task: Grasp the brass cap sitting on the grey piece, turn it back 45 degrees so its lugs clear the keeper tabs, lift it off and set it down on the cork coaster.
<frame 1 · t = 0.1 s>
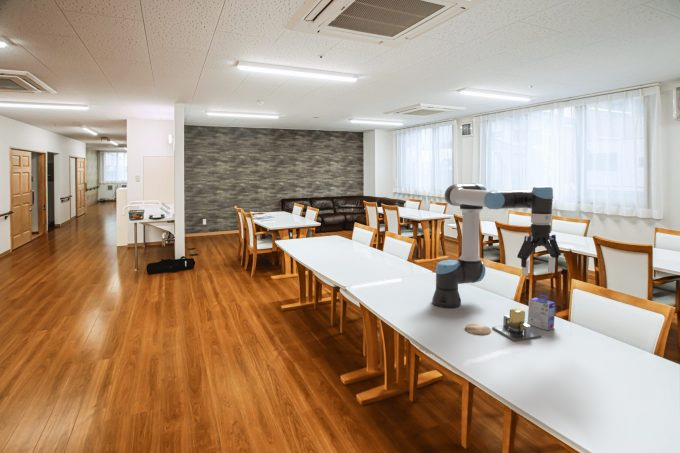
hand: (538, 273, 162), 28 cm above the table, fingers open, 13 cm apart
cap: (516, 326, 169), point 3 cm above the table, touching grey piece
ink cartridge box: (540, 326, 176), on the table
grey piece: (516, 332, 169), on the table
coaster: (477, 329, 173), on the table
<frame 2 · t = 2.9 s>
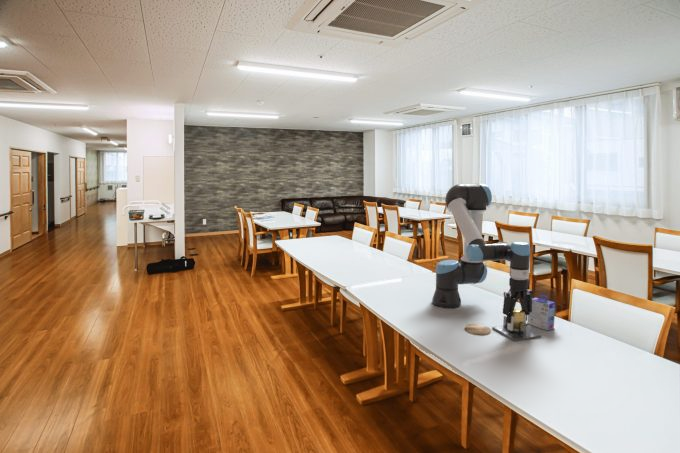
hand: (516, 328, 169), 2 cm above the table, fingers closed on cap, 6 cm apart
cap: (516, 326, 169), point 3 cm above the table, touching gripper, grey piece
everything else where it was.
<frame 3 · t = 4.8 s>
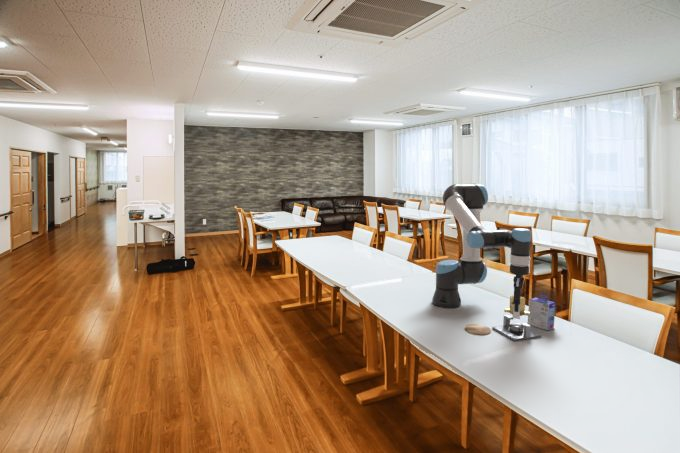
hand: (516, 315, 168), 8 cm above the table, fingers closed on cap, 6 cm apart
cap: (516, 313, 168), point 9 cm above the table, touching gripper
everything else where it was.
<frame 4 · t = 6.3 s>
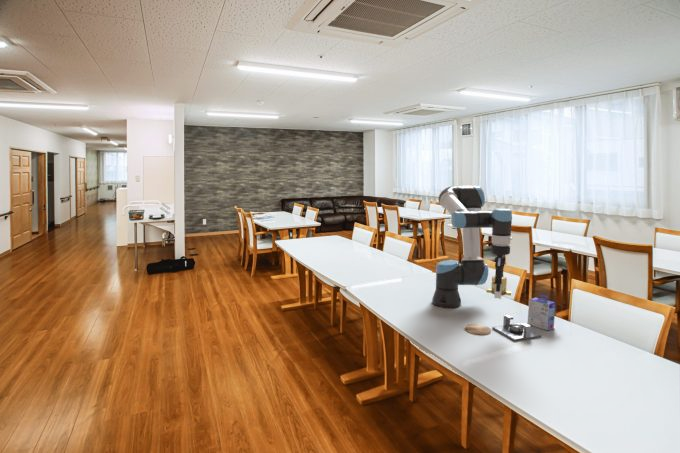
hand: (498, 295, 169), 16 cm above the table, fingers closed on cap, 6 cm apart
cap: (498, 293, 169), point 17 cm above the table, touching gripper
everything else where it was.
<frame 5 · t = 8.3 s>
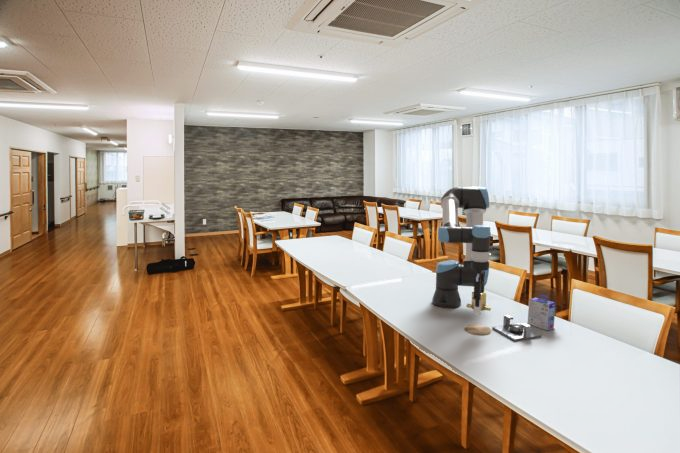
hand: (478, 310, 172), 9 cm above the table, fingers closed on cap, 6 cm apart
cap: (478, 308, 171), point 10 cm above the table, touching gripper
everything else where it was.
when the fingers open (2 cm above the table, at t = 10.0 s): cap drops 2 cm, resting on coaster.
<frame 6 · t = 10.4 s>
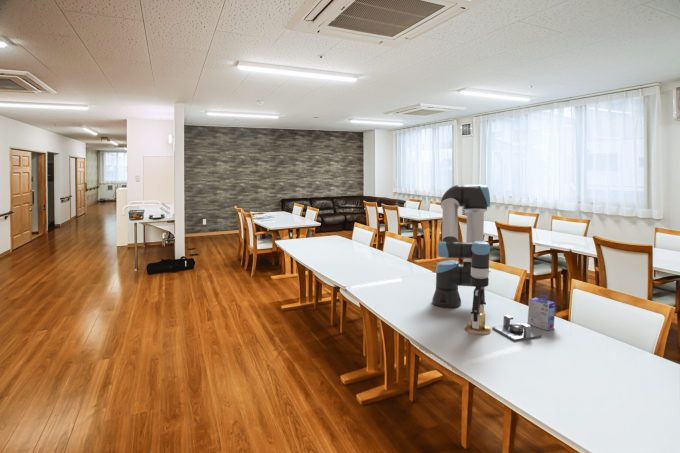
hand: (478, 323, 172), 3 cm above the table, fingers open, 12 cm apart
cap: (477, 328, 173), point 1 cm above the table, touching coaster
everything else where it was.
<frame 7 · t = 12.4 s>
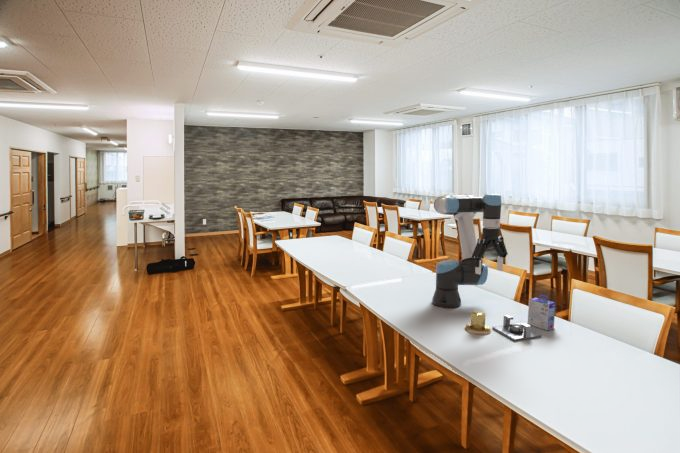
hand: (489, 272, 180), 24 cm above the table, fingers open, 13 cm apart
nothing on the table moved.
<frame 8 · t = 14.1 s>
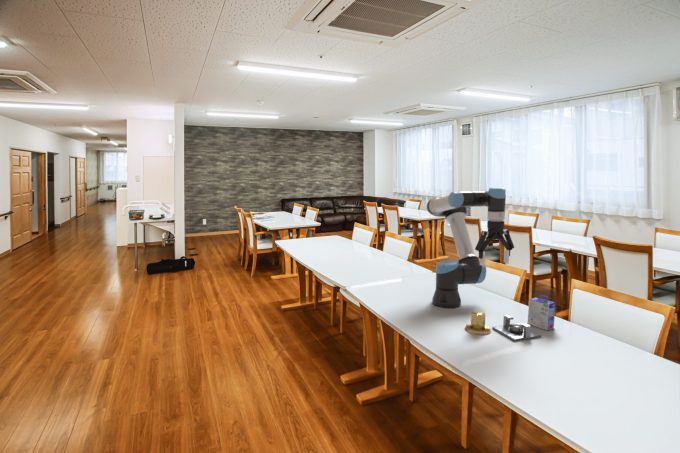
hand: (494, 264, 184), 27 cm above the table, fingers open, 13 cm apart
nothing on the table moved.
at the end: cap inside the target area on the coaster (0.0 cm from its centre), point 0.6 cm above the coaster's base; cap tilted 0°; cap touching coaster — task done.
